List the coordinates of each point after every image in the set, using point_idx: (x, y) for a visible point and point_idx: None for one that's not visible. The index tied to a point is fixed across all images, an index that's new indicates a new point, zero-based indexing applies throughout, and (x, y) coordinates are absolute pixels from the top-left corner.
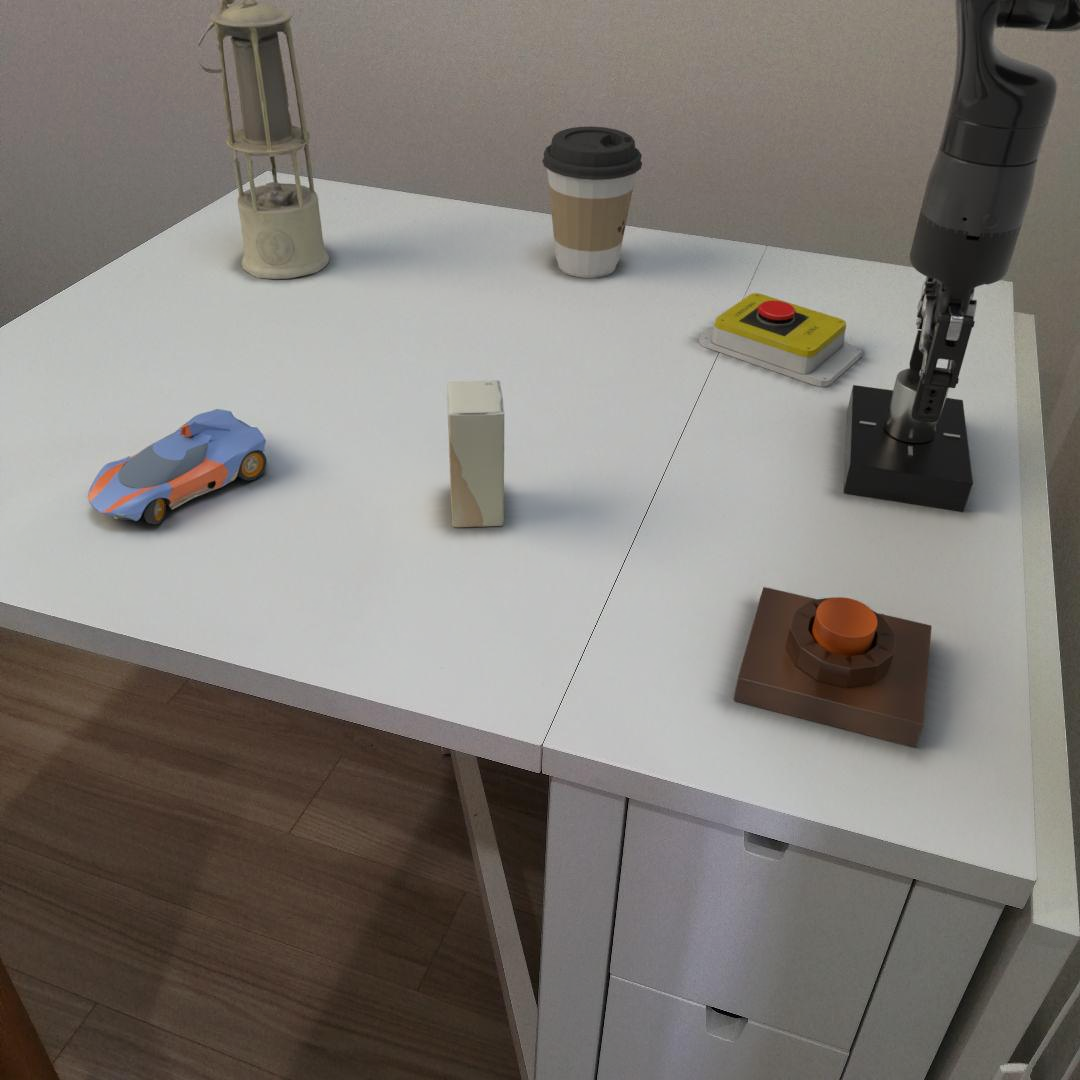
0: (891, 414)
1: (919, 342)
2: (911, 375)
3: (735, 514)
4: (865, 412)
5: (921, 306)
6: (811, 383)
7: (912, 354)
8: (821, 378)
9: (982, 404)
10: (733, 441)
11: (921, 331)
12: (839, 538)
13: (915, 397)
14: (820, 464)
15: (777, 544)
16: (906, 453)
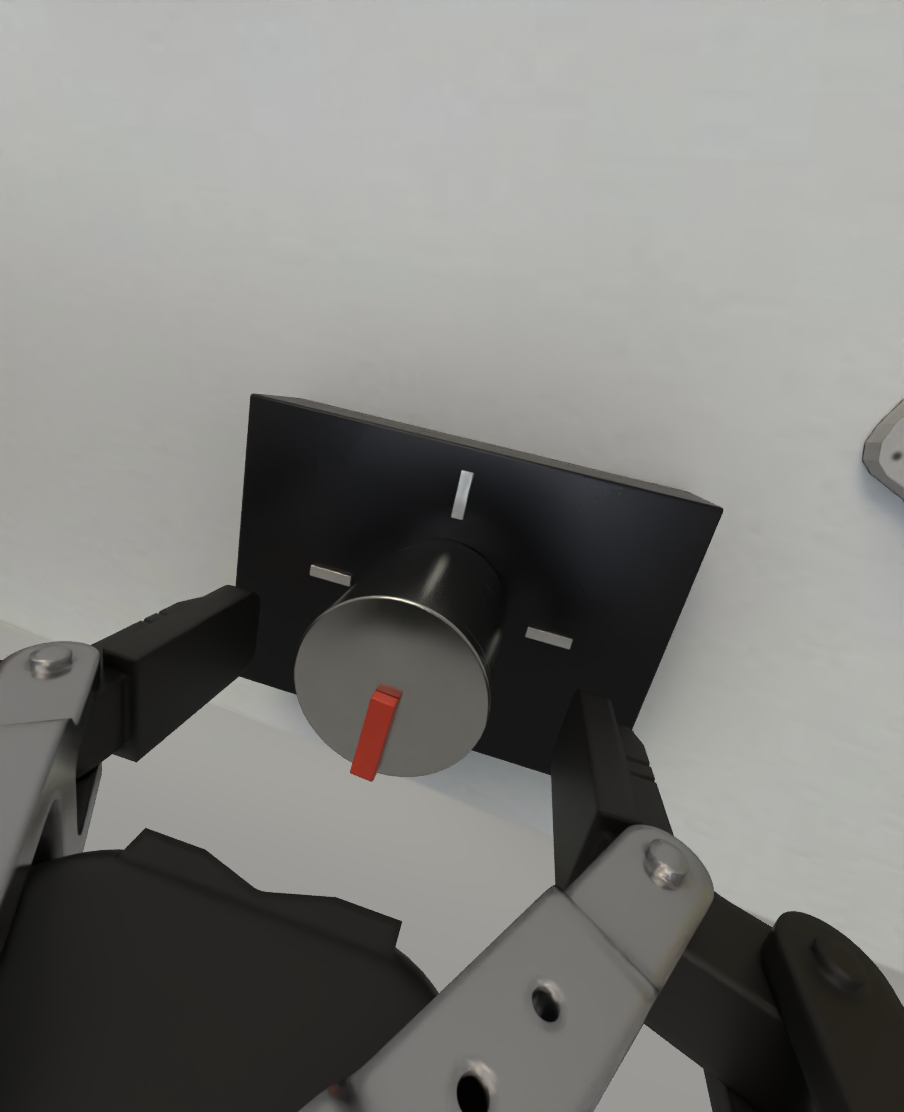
0: (401, 555)
1: (587, 784)
2: (422, 662)
3: (168, 76)
4: (534, 505)
5: (425, 1008)
6: (892, 411)
7: (594, 725)
8: (900, 444)
9: (702, 833)
10: (527, 76)
11: (24, 811)
12: (139, 356)
13: (201, 613)
14: (417, 361)
15: (85, 195)
16: (325, 563)
